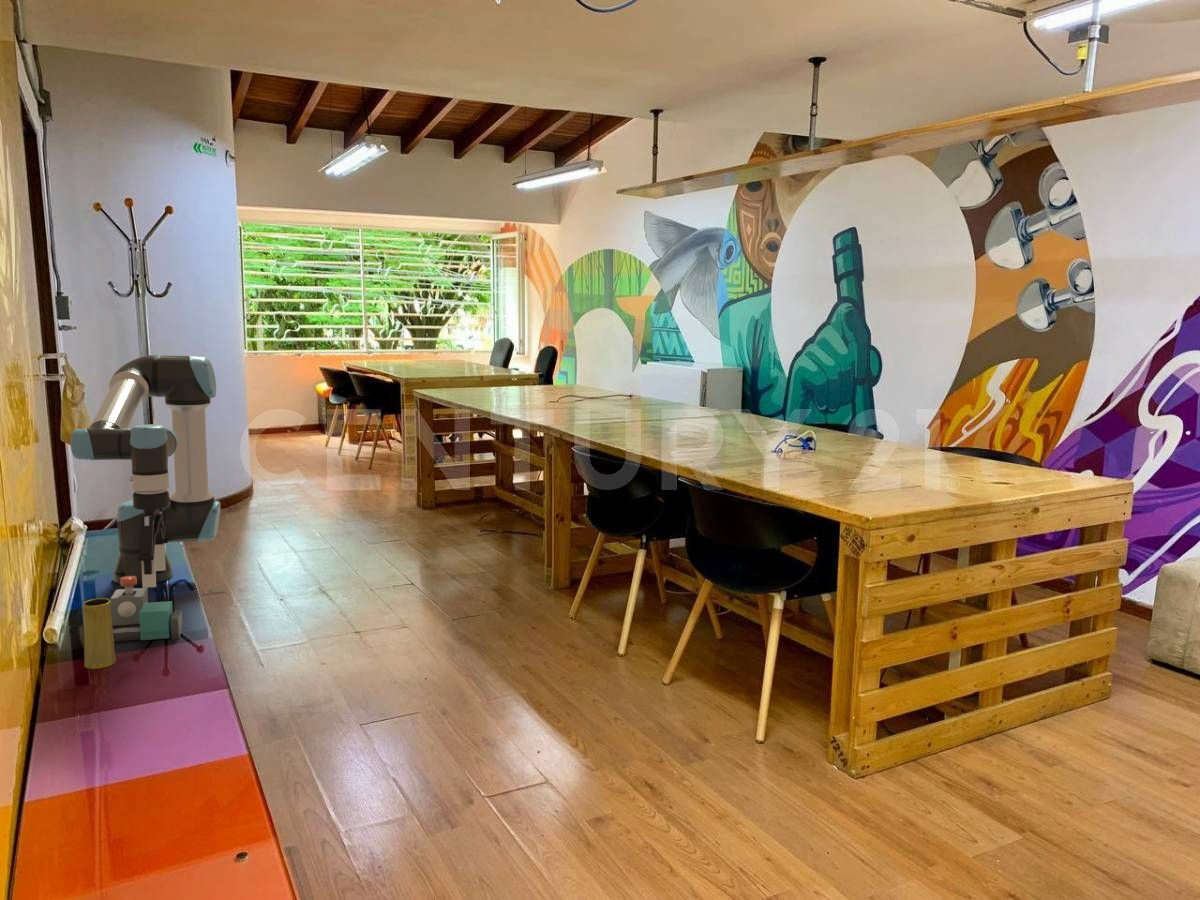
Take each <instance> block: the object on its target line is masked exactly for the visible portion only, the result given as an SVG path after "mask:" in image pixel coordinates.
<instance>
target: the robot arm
mask: <svg viewBox="0 0 1200 900" xmlns="http://www.w3.org/2000/svg"><path fill="white" fill-rule="evenodd" d="M108 386H109V387H108V388H109V391H108V393H107V395H106V396H105V399H104V400H103V402H102V404H101V405H100V408H99V409H98V411H97V414H96V416H95V417H94V419H93V421H92V423H91V424H90V426H89V427H88V428H87V427H83V428H76V429H74V430H73V431H72V433H71V436H70V451H71V454H72V456H73V457H74V458H75V459H76V460H80V461H82V460H84V461H111V460H112V461H114V460H115V461H117V460H119V461H120V460H123V461H124V460H125V461H126V460H127V461H131V474H132V476H131V477H129V481H130V482H132V490H133V491H134V492H133V493H132V499H130V500H127V501H124V502H123V503H121V504H120V505H119V506H118V507H117V517H116V523H117V536H118V538H117V539H118V557H117V560H116V564H115V566H114V569H113V573H112V574H113V575H112V576H113V578H112V579H113V582H114V583H115V584H118V585H121V582H120V578H122V577H126V576H136V577H137V584H136V585H135V586H142V587H141V588H147V589H149V588H156V587H157V583H161V582H164V581H166V580H169V579H171V578H172V576H173V566H172V564H171V561H170V559H169V556H168V554H167V552H166V547H165V546H166V545H165V544H168V543H180V542H181V543H183V542H184V543H186V542H196V543H199V542H205V541H206V542H207V541H208V542H209V541H211V540H213V539H215V538H216V536H217V533H218V530H219V524H220V518H221V502H220V501H219V500H215V494H214V493H213V492H212V491H210V490H209V479H208V477H209V476H208V454H207V451H208V450H207V429H206V428H207V424H206V409H207V408H208V407H209V406H210V404H211V399H213V398H215V397H216V396H217V383H216V376H215V371H214V368H213V365H212V362H211V361H210V359H208V358H207V357H206V356H196V355H156V354H151V355H150V354H148V355H144V356H141V357H137V358H135V359H133V360H130V361H128V362H127V363H125V364H123V365H122V366H121V367H119V368H118V369H117V370H116V371H115V372H114V374H113V375H112V377H111V378H110V381H109V385H108ZM148 397H155V398H164V402H165V403H164V404H165V405H166V406H167V407H168V408H169V409H170V410H171V420H172V421H171V425H172V429H171V428H168V427H166V426H164V425H162V424H154V423H153V424H151V423H150V424H149V423H148V424H137V425H134V426H132V427H130V428H129V425H130V423H131V421H132V419H133V417H134V415H135V413H136V411H137V408H138V407H139V405H140V403H141V402H143V401H144V400H146V399H147V398H148ZM172 455H173V465H174V466H173V468H174V484H175V485H174V487H175V491H174V492H173V493H172V494H171V495H170V492H169V491H168V489H169V488H170V480H169V478H170V477H169V475H170V474H169V466H168V464H169V462H168V461H169V458H170V457H171V456H172Z"/></svg>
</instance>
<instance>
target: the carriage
mask: <svg viewBox="0 0 1200 900" xmlns="http://www.w3.org/2000/svg"><path fill="white" fill-rule="evenodd" d="M173 613H174V611H173V601H172V600H171V601H170V600H169V601H155V602H152V601H151V602H148V603H144V605H143V607H142V609H141V610H140V612H139V619H140V624H139V627H140V633H141V639H140V641H151V640H160V639H161V640H162V639H164V640H165V639H170V638H171V637H170V626H171V617H172V615H173Z"/></svg>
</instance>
